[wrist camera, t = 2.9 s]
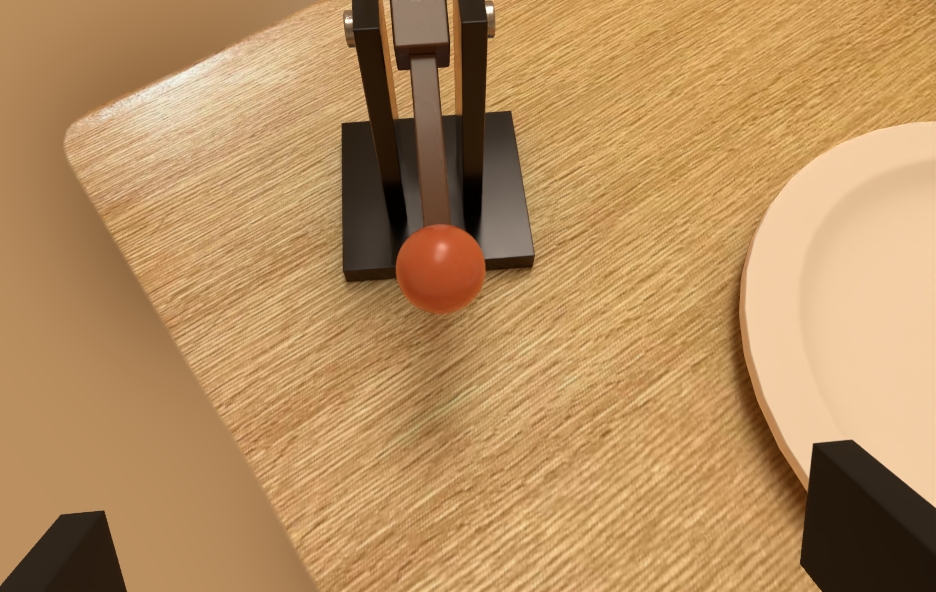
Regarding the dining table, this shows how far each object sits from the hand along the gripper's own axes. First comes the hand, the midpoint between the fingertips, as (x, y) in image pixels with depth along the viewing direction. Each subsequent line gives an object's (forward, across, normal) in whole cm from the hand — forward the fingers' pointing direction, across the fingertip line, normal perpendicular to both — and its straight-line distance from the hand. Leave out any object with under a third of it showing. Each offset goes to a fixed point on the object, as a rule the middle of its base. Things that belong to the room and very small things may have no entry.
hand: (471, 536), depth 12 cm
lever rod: (+18, 0, +5) cm, 19 cm away
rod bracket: (+27, 0, +2) cm, 27 cm away
